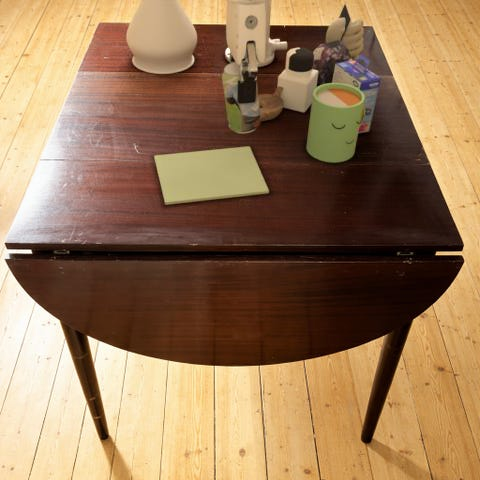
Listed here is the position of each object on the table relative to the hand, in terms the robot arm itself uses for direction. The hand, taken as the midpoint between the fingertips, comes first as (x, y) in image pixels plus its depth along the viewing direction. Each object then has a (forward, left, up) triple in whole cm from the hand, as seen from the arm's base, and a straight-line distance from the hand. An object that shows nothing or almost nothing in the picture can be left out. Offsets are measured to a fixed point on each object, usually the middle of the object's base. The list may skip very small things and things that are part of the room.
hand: (242, 92), depth 109 cm
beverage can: (0, 0, -7) cm, 7 cm away
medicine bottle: (-19, -25, -17) cm, 36 cm away
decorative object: (-37, -44, -17) cm, 60 cm away
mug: (-22, -5, -17) cm, 28 cm away
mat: (+6, 0, -17) cm, 18 cm away
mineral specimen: (-30, -34, -17) cm, 48 cm away
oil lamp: (-11, -21, -17) cm, 29 cm away
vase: (+8, -52, -17) cm, 55 cm away
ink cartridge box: (-28, -14, -17) cm, 36 cm away
